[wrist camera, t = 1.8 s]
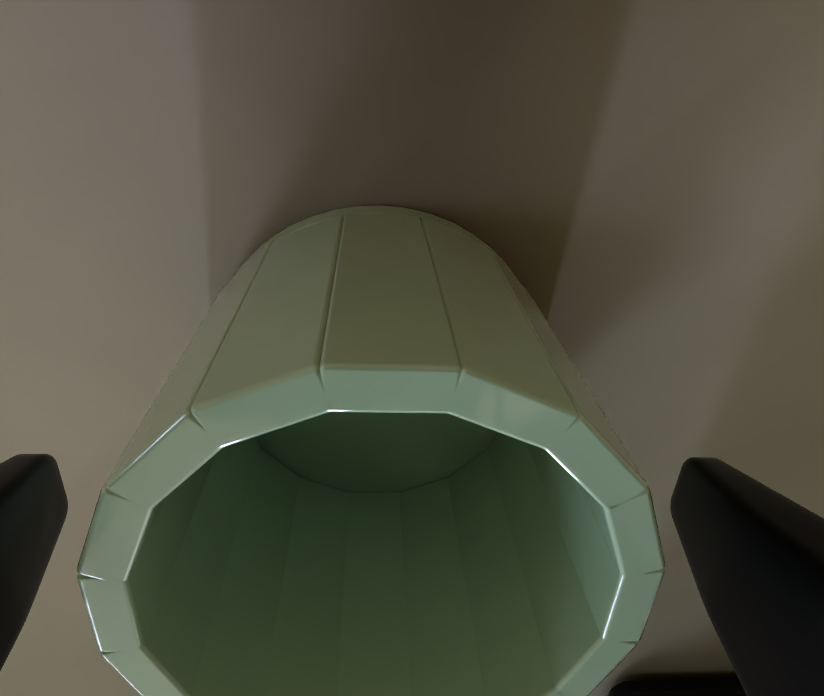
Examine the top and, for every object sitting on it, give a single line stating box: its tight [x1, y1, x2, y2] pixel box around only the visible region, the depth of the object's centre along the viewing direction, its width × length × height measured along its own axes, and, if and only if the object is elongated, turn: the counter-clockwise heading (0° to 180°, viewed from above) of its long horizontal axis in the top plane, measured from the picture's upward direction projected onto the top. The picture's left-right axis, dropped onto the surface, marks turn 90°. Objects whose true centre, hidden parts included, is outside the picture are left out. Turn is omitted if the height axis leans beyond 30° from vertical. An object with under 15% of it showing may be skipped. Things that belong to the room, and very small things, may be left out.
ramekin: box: [77, 205, 665, 696], centre depth 9 cm, size 6×6×6 cm
